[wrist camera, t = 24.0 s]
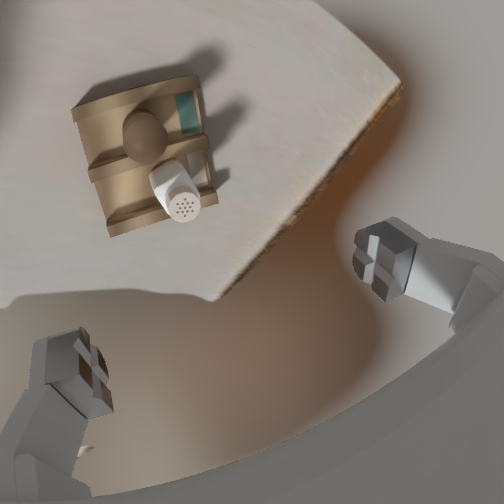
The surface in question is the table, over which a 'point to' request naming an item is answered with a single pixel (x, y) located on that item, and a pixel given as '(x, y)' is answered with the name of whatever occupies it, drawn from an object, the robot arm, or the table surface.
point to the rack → (134, 173)
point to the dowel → (143, 136)
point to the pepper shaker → (176, 191)
